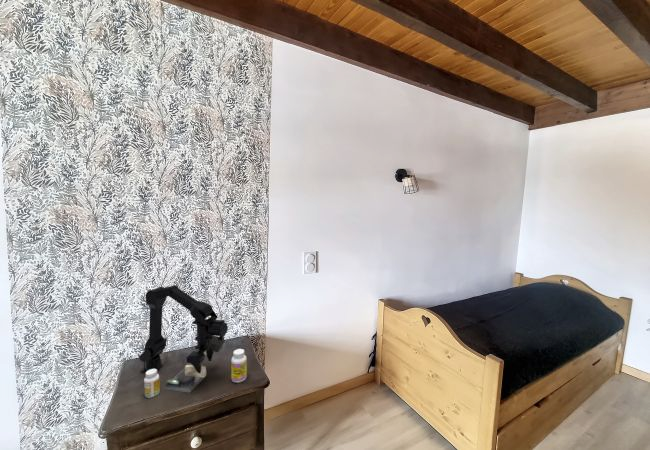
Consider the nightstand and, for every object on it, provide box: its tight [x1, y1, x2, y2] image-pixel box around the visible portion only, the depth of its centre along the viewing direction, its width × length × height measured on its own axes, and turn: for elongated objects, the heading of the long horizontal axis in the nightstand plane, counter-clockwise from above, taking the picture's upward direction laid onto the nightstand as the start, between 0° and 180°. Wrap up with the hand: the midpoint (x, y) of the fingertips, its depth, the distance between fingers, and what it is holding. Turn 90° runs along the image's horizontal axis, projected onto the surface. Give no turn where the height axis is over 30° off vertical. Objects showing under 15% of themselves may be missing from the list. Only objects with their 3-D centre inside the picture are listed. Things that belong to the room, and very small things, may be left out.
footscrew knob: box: [176, 364, 207, 384], centre depth 122 cm, size 12×7×6 cm, turn 81°
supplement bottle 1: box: [143, 369, 161, 399], centre depth 115 cm, size 5×5×10 cm
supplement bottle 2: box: [230, 348, 248, 384], centre depth 125 cm, size 7×7×13 cm
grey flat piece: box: [163, 368, 208, 393], centre depth 125 cm, size 12×17×4 cm
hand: (204, 366), depth 125 cm, fingers open, 9 cm apart
